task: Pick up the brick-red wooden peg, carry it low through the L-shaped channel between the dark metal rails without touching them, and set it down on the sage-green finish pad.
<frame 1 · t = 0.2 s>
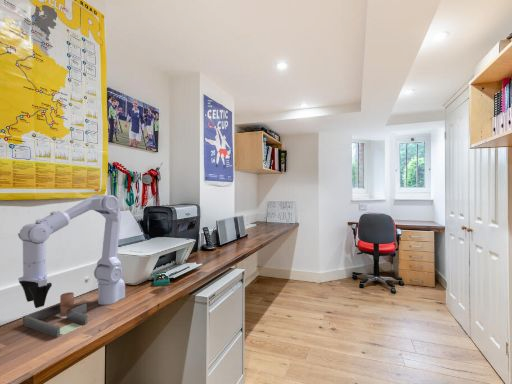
hand: (35, 303, 88), 10 cm above the table, tool pointing down, fingers open, 7 cm apart
rails: (64, 316, 95), on the board, point 2 cm above the table
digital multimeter: (161, 281, 139), on the table
board: (67, 324, 94), on the table
peg: (67, 313, 100), point 1 cm above the table, touching board
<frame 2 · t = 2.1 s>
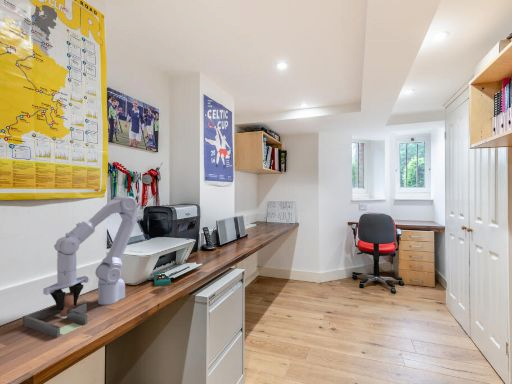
hand: (67, 307, 100), 3 cm above the table, tool pointing down, fingers closed on peg, 4 cm apart
peg: (67, 313, 100), point 1 cm above the table, touching board, gripper
everything else where it was.
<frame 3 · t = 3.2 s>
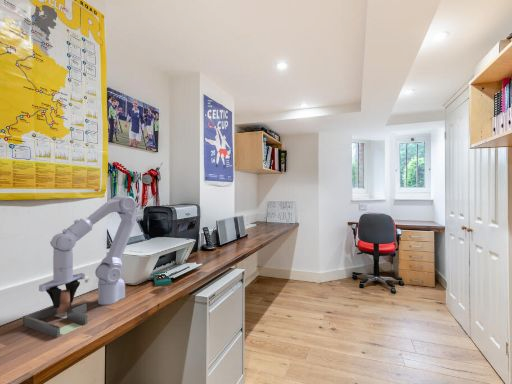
hand: (63, 304, 99), 5 cm above the table, tool pointing down, fingers closed on peg, 4 cm apart
peg: (63, 311, 99), point 3 cm above the table, touching gripper
everything else where it was.
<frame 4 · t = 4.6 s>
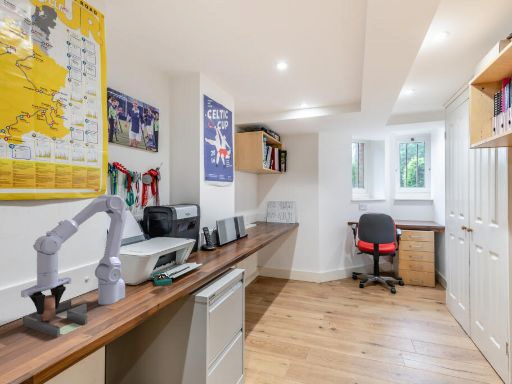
hand: (48, 310, 94), 5 cm above the table, tool pointing down, fingers closed on peg, 4 cm apart
peg: (48, 317, 94), point 3 cm above the table, touching gripper
everything else where it was.
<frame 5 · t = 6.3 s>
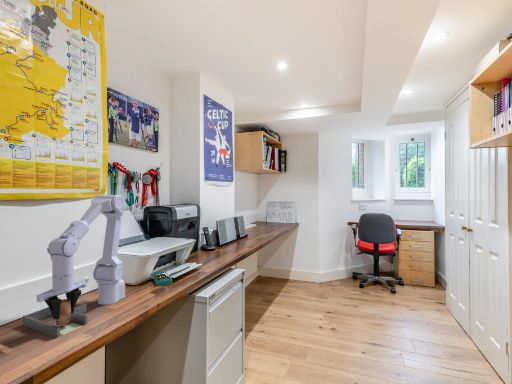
hand: (63, 315, 90), 5 cm above the table, tool pointing down, fingers closed on peg, 4 cm apart
peg: (63, 322, 90), point 3 cm above the table, touching gripper
everything else where it was.
when the fingers open (5 cm above the table, at t = 7.5 s): peg drops 1 cm, resting on board.
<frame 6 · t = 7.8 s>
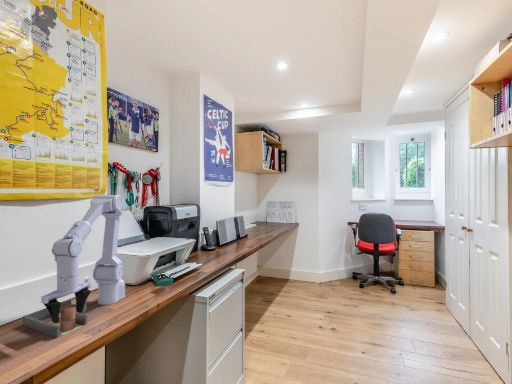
hand: (68, 317, 89), 5 cm above the table, tool pointing down, fingers open, 7 cm apart
peg: (68, 328, 89), point 1 cm above the table, touching board
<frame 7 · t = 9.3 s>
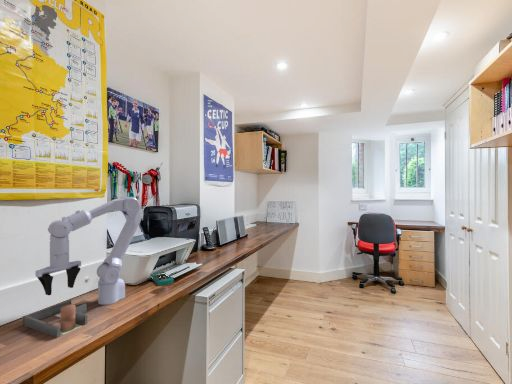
hand: (59, 290, 100), 9 cm above the table, tool pointing down, fingers open, 7 cm apart
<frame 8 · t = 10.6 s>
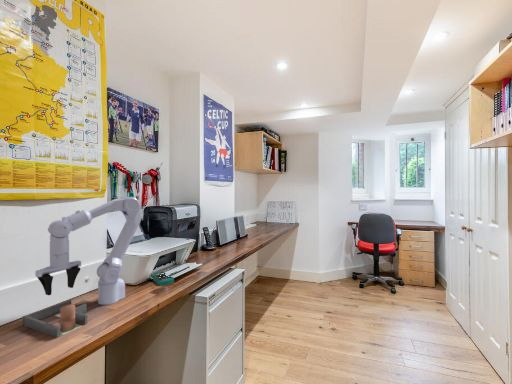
hand: (59, 290, 100), 9 cm above the table, tool pointing down, fingers open, 7 cm apart
at the end: peg 0.0 cm from the target spot, point 1.1 cm above the table; peg touching board; peg tilted 1° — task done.
